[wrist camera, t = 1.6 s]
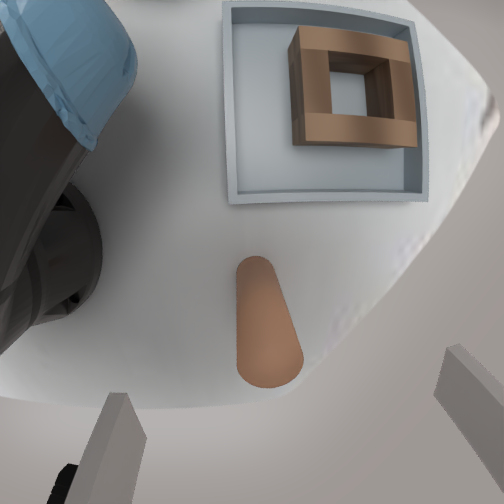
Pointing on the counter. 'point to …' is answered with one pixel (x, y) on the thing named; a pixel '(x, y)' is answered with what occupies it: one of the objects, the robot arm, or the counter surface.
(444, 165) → the counter surface
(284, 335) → the peg
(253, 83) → the tray
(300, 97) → the block
